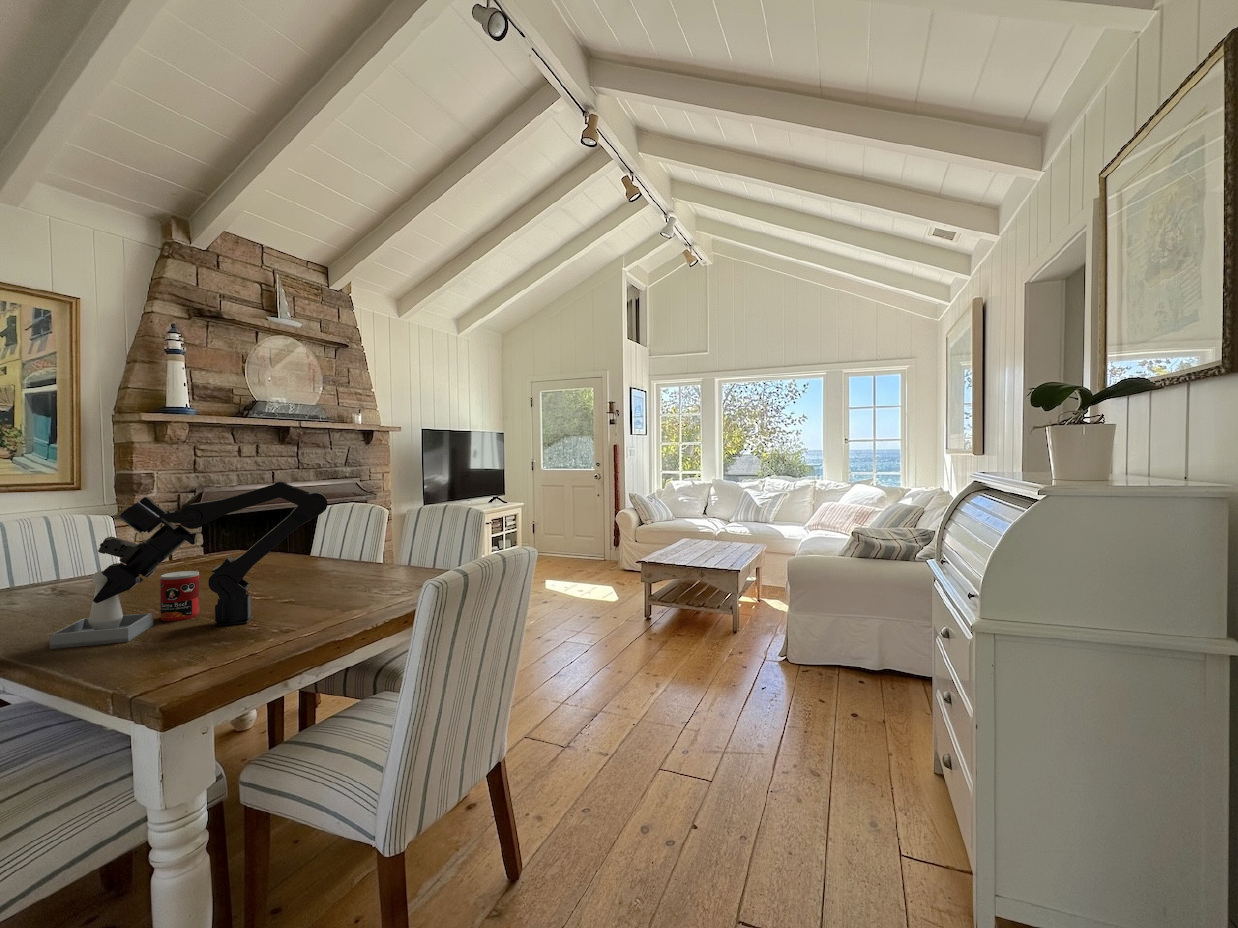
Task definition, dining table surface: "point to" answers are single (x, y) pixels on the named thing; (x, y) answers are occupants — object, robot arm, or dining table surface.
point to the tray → (100, 632)
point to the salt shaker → (104, 608)
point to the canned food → (179, 595)
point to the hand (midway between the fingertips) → (97, 600)
